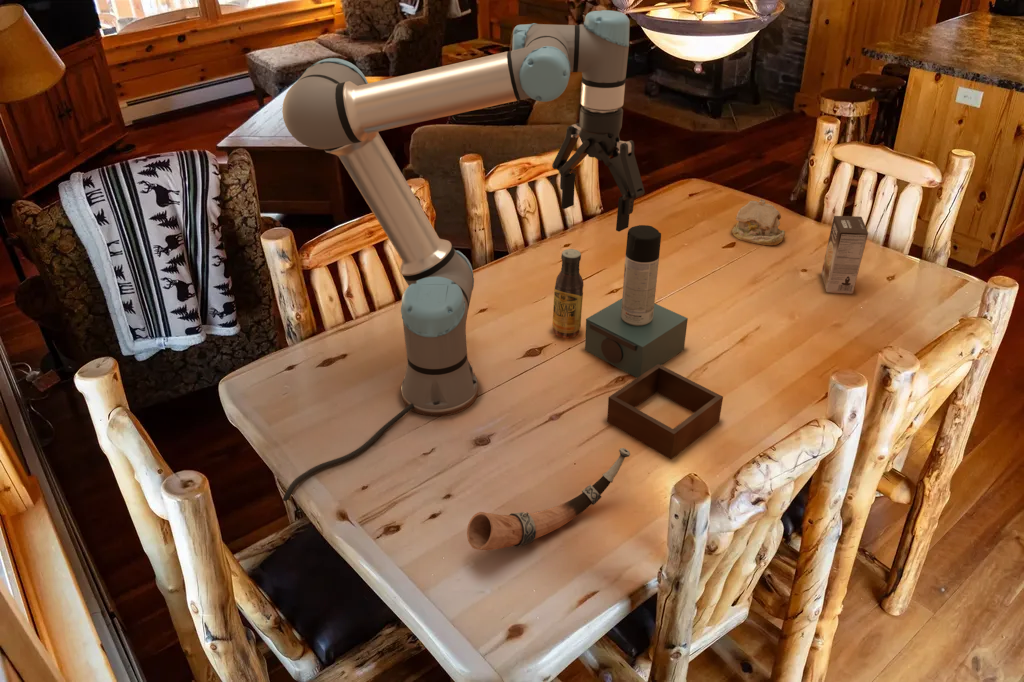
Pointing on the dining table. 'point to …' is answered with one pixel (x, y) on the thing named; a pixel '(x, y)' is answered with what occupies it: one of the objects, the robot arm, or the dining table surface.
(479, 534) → the curved blowing horn
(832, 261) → the coffee box
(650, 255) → the spray can
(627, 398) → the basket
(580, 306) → the sauce bottle
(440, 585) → the dining table surface
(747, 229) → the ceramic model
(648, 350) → the green block
